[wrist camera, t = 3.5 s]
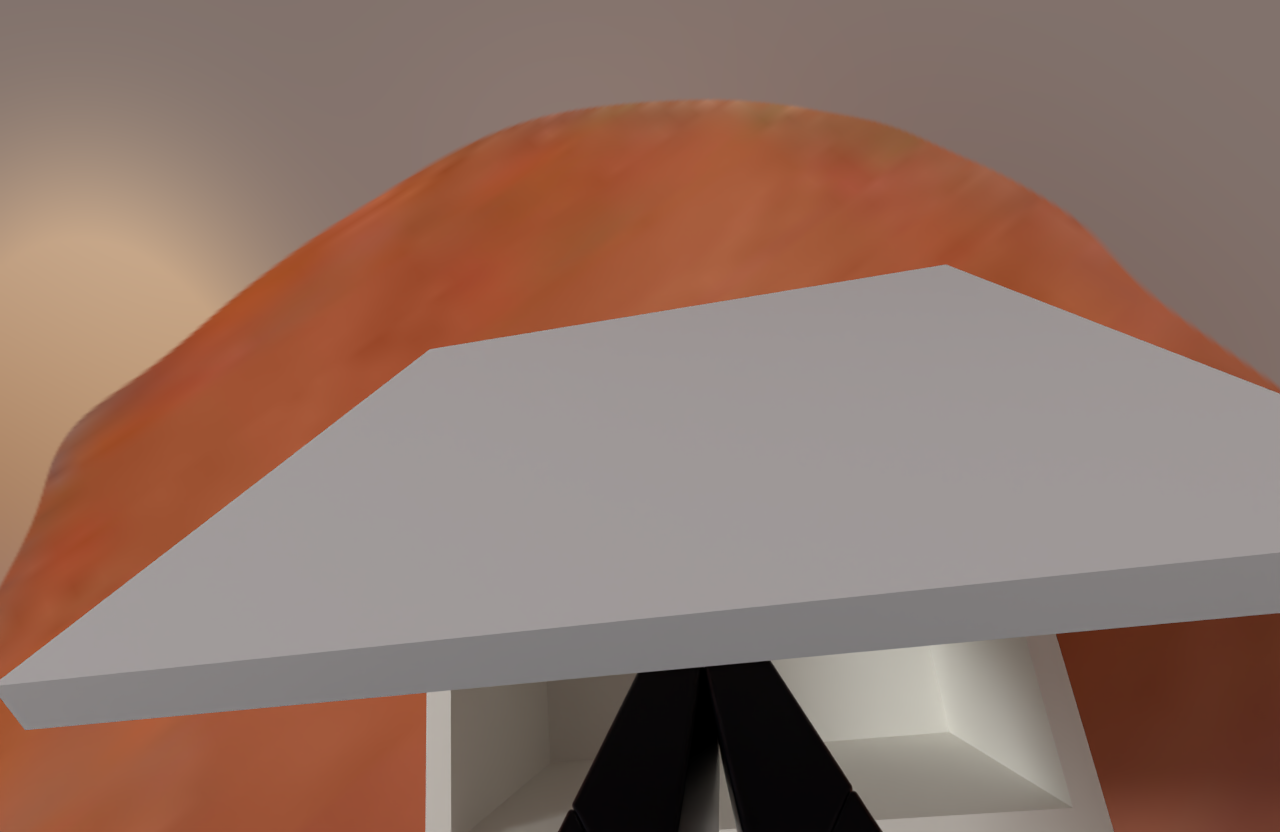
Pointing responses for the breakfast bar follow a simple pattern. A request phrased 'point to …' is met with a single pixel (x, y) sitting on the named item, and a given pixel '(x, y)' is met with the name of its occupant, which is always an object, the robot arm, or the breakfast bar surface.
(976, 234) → the breakfast bar surface
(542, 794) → the carton
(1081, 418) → the carton flap
